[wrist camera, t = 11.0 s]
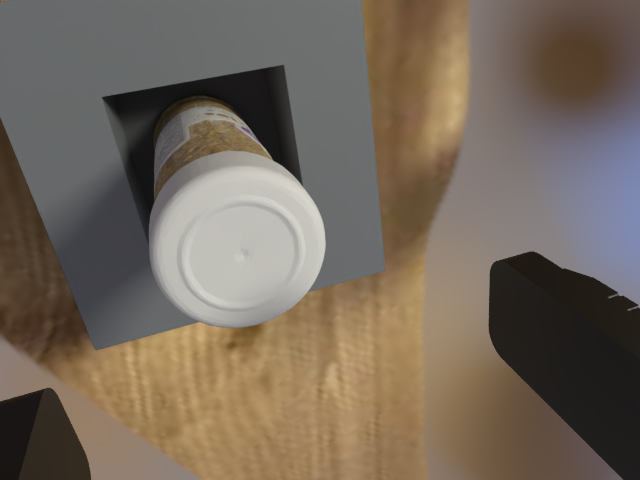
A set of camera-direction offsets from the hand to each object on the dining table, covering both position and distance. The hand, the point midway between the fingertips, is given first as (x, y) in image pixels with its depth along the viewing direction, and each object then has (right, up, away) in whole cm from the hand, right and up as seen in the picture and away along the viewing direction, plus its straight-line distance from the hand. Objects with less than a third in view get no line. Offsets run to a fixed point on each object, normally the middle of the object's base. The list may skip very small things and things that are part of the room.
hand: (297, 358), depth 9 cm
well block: (-5, +7, +16) cm, 19 cm away
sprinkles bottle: (-5, +7, +16) cm, 18 cm away
